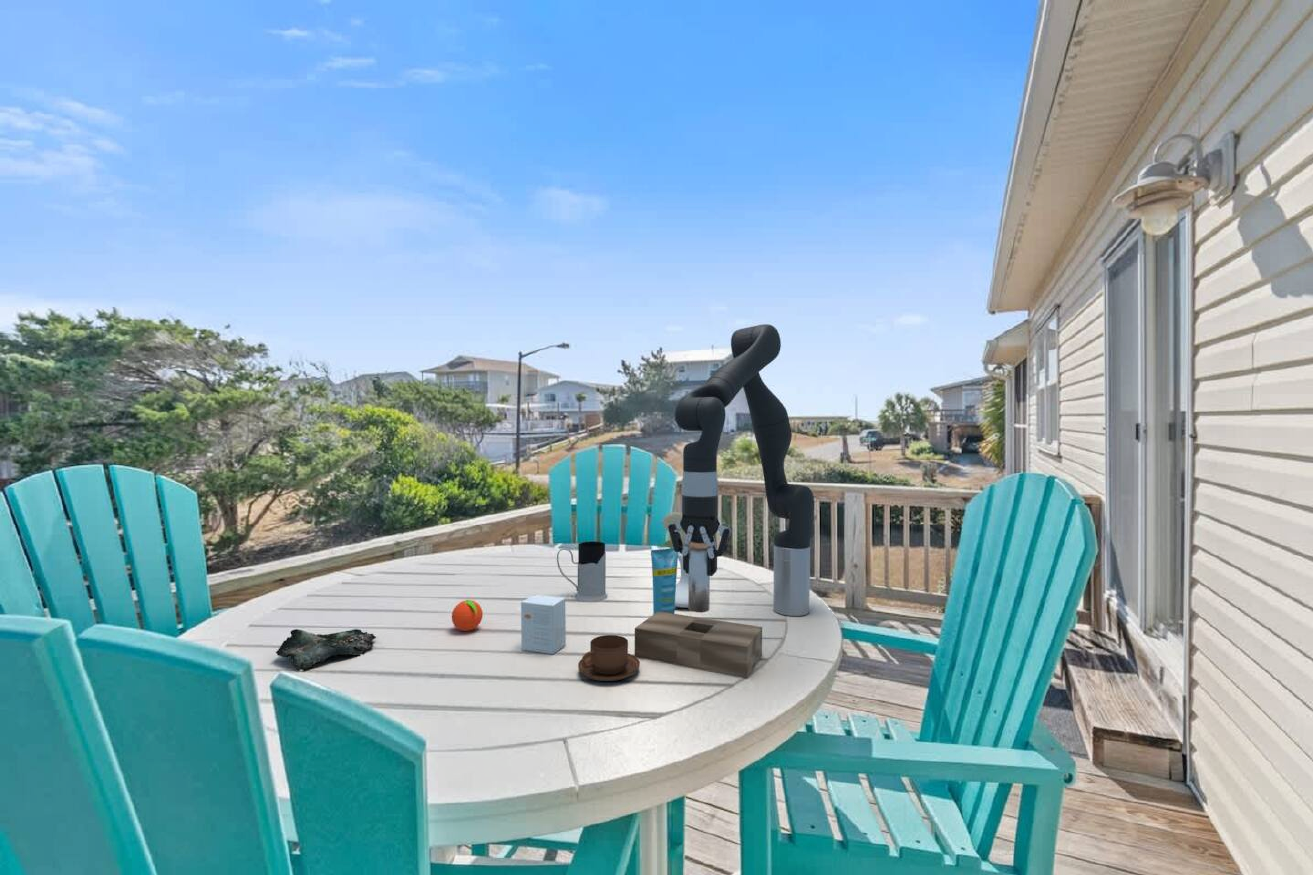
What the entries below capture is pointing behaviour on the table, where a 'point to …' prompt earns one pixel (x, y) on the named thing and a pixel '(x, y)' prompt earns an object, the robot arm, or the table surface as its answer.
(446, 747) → the table surface
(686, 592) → the flower in vase
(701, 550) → the plug
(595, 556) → the glass holder
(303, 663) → the decorative rock
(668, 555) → the tube
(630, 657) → the cup and saucer
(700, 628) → the block
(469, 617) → the clementine
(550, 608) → the small box
